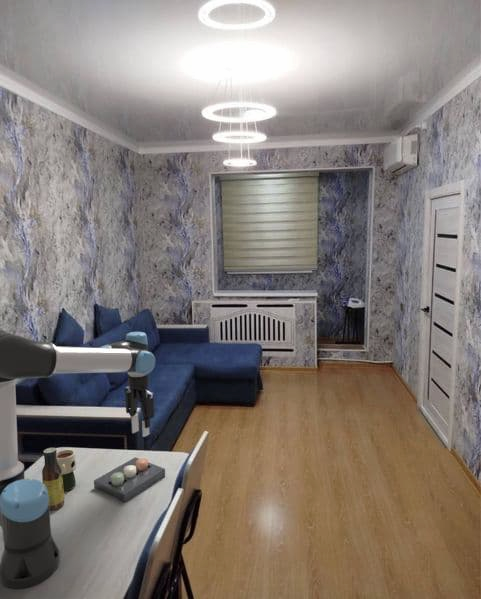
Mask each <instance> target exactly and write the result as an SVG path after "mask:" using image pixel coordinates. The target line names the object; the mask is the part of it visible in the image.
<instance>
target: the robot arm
mask: <svg viewBox="0 0 481 599" xmlns="http://www.w3.org/2000/svg"><path fill="white" fill-rule="evenodd" d="M148 346H149V343H148V336H147V333H146V332H143V331H131V332H128V333H127V334H126V335H125V340H122V341H118V342H114V343H113V342H112V343H108V344H105V345H102V346H99V347H87V346H86V347H85V346H84V347H83V346H82V347H81V346H80V347H79V346H60V345H59V346H57V345H55V344H54V343H53V342H48V341H38V340H34V339H30V338H27V337H23V336H21V335H18V334H17V335H16V334H13V333H10V332H7V331H5V330H3V329H0V527H1V530H2V539H3V547H4V548H3V552H2V555H1V561H0V583H1V584H2V585H3V586H4V587H7V588H9V589H25V588H29V587H32V586H35V585H38V584H40V583H41V582H43V581H45V580H46V579H48V578H50V576H52V574H54V572H55V571H56V570H57V569H58V567H59V565H60V562H61V558H60V557H61V556H60V550H59V547H58V545H57V543H56V541H55V539H54V537H53V536H52V531H51V529H52V528H51V514H50V510H49V495H48V492H47V488H46V486H45V485H44V484H43V481H42V480H38V479H34V478H32V479H29V478H25V464H24V463H22V462H21V461H20V460H19V456H18V455H19V454H18V453H19V451H18V449H19V447H18V426H17V425H18V424H17V422H18V421H17V395H16V393H17V392H16V390H17V389H16V382H18V380H21V379H40V378H49V377H51V376H53V374H54V375H55V374H93V373H98V374H99V373H127V384H128V386H126V387H124V388H123V391H124V395H125V412H126V414H129V416H130V424H131V433H132V434H135V433H137V432H139V431H140V429H139V428H140V426H139V425H140V424H139V414H138V413H139V412H138V404H139V403H140V404H139V405H140V408H141V413H142V417H143V419H142V420H141V425H142V426H141V430H142V437H143V438H146V437H147V436H149V435H150V427H151V419H153V418H155V406H154V404H155V403H154V397H155V393H154V391H153V392H151V391H150V390H149V387H148V386H149V383H150V379H149V378H150V377H149V376H150V373H151V372H152V371H153V370H154V368H155V366H156V365H155V364H156V357H155V355H154V354H153V353H152V352H151V351H149V350H148V349H149V347H148Z"/></svg>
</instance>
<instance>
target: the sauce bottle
mask: <svg viewBox="0 0 481 599" xmlns="http://www.w3.org/2000/svg"><path fill="white" fill-rule="evenodd" d="M57 452H58V450H57V448H56V447H48V448H46V449H44V450H43V459H44V465H43V468H42V470H41V474H42V477H41V478H42V479H41V482H42V483H43V484H44V485H45V486H46V488H47V492H48V495H49V511H53V510H54V511H55V510H57V509H60V508H61V507H63V505H64V504H65V492H64V491H65V490H64V488H63V478H62V469H61V467H60V465H59V463H58V461H57V457H56V453H57Z"/></svg>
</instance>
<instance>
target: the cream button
mask: <svg viewBox="0 0 481 599" xmlns="http://www.w3.org/2000/svg"><path fill="white" fill-rule="evenodd" d="M135 476H136V466H134V465H129V466H126V467H125V468H124V477H125V478H127V479H129V480H130V479H132V478H133V477H135Z"/></svg>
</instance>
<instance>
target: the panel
mask: <svg viewBox="0 0 481 599" xmlns="http://www.w3.org/2000/svg"><path fill="white" fill-rule="evenodd" d="M138 459H139V458H138V457H135V456H134V457H133V458H131V459H130V460H128V461H125V462H124V463H122V464H121V465H119V466H117V467H115V468H114V469H111V470H110V471H109V472H106V473H105V474H103V475H101V476H99V477H97V478H96V479H94V480H93V485H94V486H93V488H94V489H95V490H97V491H100V492H101V493H104V494H106V495H107V496H110V497H112V498H115V499H116V500H118V501H121V502H123V503H126V502H128V501H130V500H132V498H134V497H136V496H137V495H139V494H140V493H142V492H144V491H145V490H146V489H148V488H150V487H151V486H152V485H154V484H155V483H157V482H159V481H160V480H161V479H163V478H165V477H166V468H164V467H162V466H158V465H156V464H154V463H151V462H148V469H147V470H145V471H143V472H140V471H138V470H136V476H135V477H133V478H132V479H130V480H129V479H127V478H125V477H124V484H122V485H120V486H119V487H115V486H112V485H111V475H112V474H114V473H117V472H121V473H123V474H124V468H125V467H126V466H129V465H134V466H136V461H137V460H138Z"/></svg>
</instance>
